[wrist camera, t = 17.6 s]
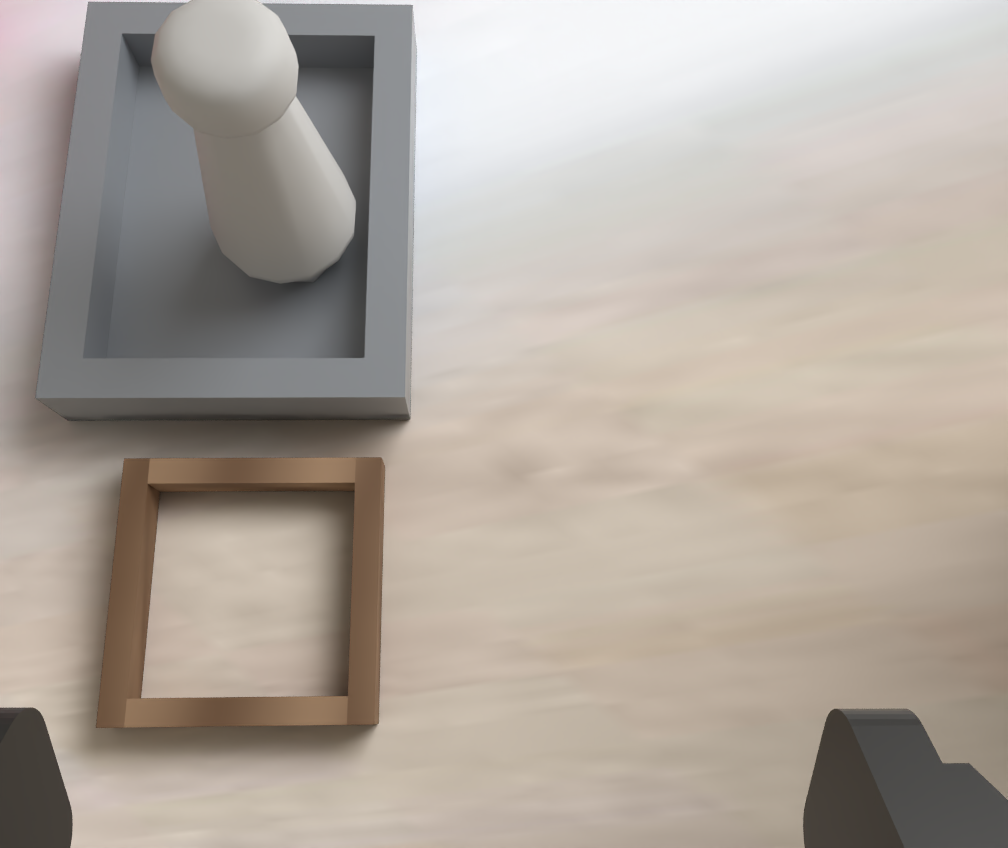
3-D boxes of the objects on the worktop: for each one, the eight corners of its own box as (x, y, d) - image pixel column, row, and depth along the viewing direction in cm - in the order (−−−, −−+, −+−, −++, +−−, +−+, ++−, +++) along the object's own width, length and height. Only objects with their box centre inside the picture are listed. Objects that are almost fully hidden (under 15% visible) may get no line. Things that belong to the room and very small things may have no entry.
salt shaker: (275, 330, 39) (181, 158, 27) (200, 229, 41) (77, 21, 28) (390, 253, 40) (351, 54, 28) (314, 158, 42) (244, -74, 29)
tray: (416, 50, 44) (412, 4, 41) (410, 419, 39) (404, 397, 36) (113, 47, 44) (88, 1, 41) (67, 420, 39) (35, 397, 36)
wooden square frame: (384, 466, 39) (381, 457, 37) (378, 723, 36) (374, 724, 34) (137, 467, 38) (124, 458, 37) (111, 726, 36) (96, 727, 34)
